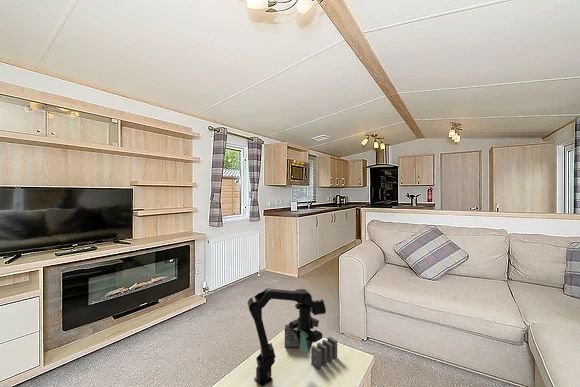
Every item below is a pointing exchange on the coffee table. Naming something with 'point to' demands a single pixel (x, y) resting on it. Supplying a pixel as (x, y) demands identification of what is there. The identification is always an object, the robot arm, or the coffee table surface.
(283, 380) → the coffee table surface
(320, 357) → the tile
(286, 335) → the small box
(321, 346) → the tile
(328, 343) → the tile
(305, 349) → the tile
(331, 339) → the tile
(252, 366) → the coffee table surface
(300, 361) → the coffee table surface
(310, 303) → the robot arm
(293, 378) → the coffee table surface
